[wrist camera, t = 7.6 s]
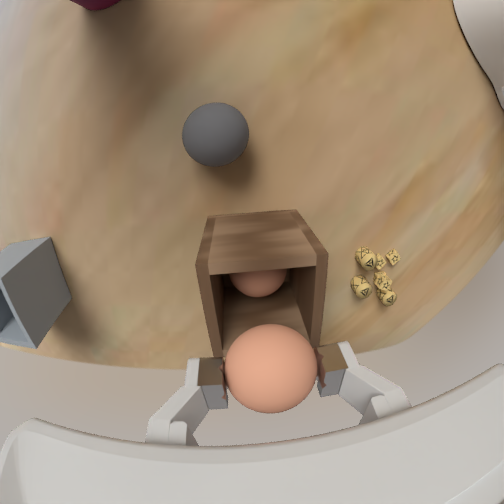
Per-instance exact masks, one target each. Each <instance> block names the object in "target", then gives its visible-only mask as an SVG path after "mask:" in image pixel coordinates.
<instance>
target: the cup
mask: <svg viewBox="0 0 504 504" xmlns="http://www.w3.org/2000/svg"><path fill="white" fill-rule="evenodd" d="M70 1H73V2H75V3H77V4H79V5H81V6H83V7H84V8H86V9H89V10H101V9H105V8H107V7H110V6H112V5H114V4H116V3H117V2H119V1H120V0H70Z"/></svg>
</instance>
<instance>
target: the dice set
mask: <svg viewBox="0 0 504 504" xmlns="http://www.w3.org/2000/svg"><path fill="white" fill-rule="evenodd" d="M386 257H387V259H388V261H389V262H390V263H391V264H392V265H394V264H395V263H396V262H398V261H399V260H400V257H399V255H398V253H397V251H396V250H395V249H392V250H391V251H390V252H389V253H388V254H386ZM355 259H356V260H357V261H358V262H359V263H360V265H361V266H362V267H363V268H364V269H365V270H366V271H369V270H373V269H374V268H375V267H377V268H378V269H379V270H380V269H381V268H382V267H383V266H384V265H385V264H386V263H387V262H386V261H385V260H384V259H383V257H382V256H381V255H380V254H379V253H378V254H377V255H376V256H375V255H374V254H373V253H372V252H371V251H370V250H369V249H368V248H367V247H360V248H359V249H358V250H357V251H356V253H355ZM373 282H374V284H375V285H377V287H378V289H377V296H378V297H379V299H380V300H381V301H382V303H383V304H384V305H386V306H390V305H393V303H394V302H395V301H396V298H397V295H396V294H395V292H394V291H393V290H392V289H391V288H390V285H391V284H392V281H391V280H390V279H389V278H388V277H387V276H386V273H385V272H384V271H381V272H374V278H373ZM351 288H352V289H353V290H354V292H355V294H356V295H357V297H359V298H361V299H364V298H367V297H368V296H369V295H370V294H371V293H372V286H371V285H370V284H369V282H368V281H367V280H366V278H365V277H363V276H362V275H358V276H355V277H354V278H353V279H352V281H351Z"/></svg>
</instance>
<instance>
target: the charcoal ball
mask: <svg viewBox="0 0 504 504" xmlns="http://www.w3.org/2000/svg"><path fill="white" fill-rule="evenodd" d="M248 138H249V129H248V125H247V122H246V120H245V118H244V116H243V115H242V114H241V113H240V112H239V111H238V110H237V109H235V108H234V107H232V106H230V105H228V104H224V103H209V104H205V105H203V106H201V107H199V108H197V109H196V110H194V111H193V112H192V113H191V114H190V115H189V117H188V118H187V120H186V122H185V124H184V127H183V132H182V139H183V144H184V147H185V149H186V151H187V153H188V154H189V155H190V156H191V157H192V158H193V159H194V160H195V161H197V162H199V163H200V164H203V165H206V166H213V167H216V166H223V165H227V164H229V163H231V162H233V161H234V160H236V159H237V158H238V157H239V156H240V155H241V154H242V153H243V151H244V150H245V148H246V146H247V143H248Z"/></svg>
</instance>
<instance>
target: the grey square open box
mask: <svg viewBox="0 0 504 504" xmlns="http://www.w3.org/2000/svg"><path fill="white" fill-rule="evenodd" d="M71 299H72V297H71V294H70V292H69V289H68V287H67V284H66V281H65V279H64V276H63V273H62V271H61V268H60V265H59V262H58V259H57V256H56V253H55V250H54V247H53V244H52V240H51V237H46V238H40V239H34V240H28V241H23V242H18V243H12V244H10V245H8V246H7V247H6V248H4V249H3V250H2V251H0V342H3V343H7V344H12V345H17V346H23V347H28V348H34V349H37V348H38V346H39V345H40V343H41V341H42V340H43V338H44V337H45V335H46V334H47V332H48V331H49V329H50V328H51V326H52V325H53V324H54V322H55V321H56V319H57V318H58V316H59V315H60V314H61V312H62V311H63V310H64V308H65V307H66V305H67V304H68V303H69V301H70V300H71Z"/></svg>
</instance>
